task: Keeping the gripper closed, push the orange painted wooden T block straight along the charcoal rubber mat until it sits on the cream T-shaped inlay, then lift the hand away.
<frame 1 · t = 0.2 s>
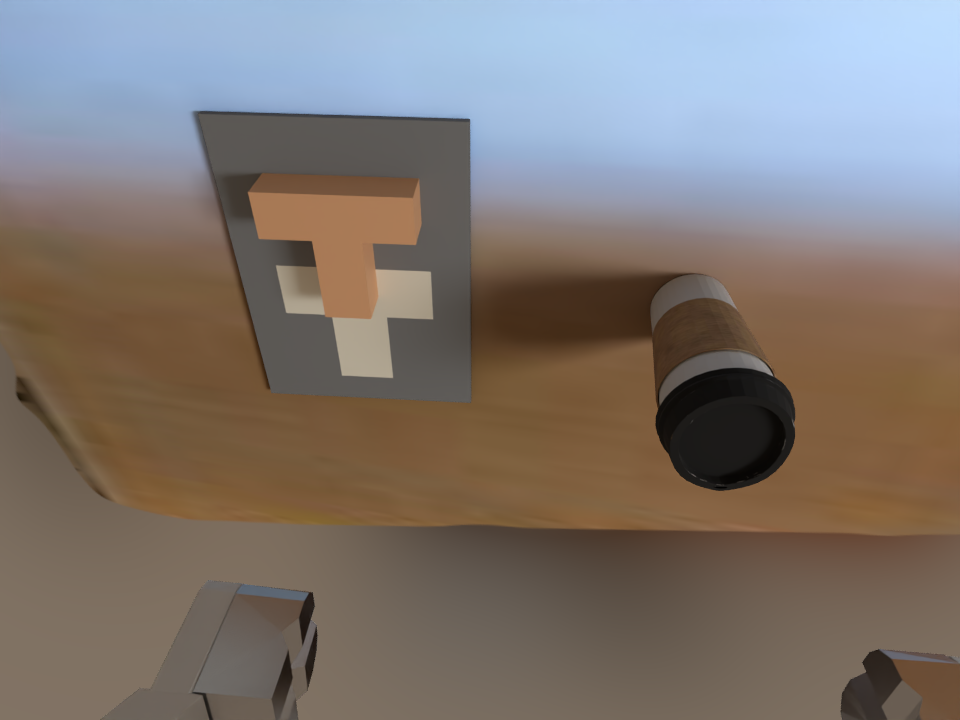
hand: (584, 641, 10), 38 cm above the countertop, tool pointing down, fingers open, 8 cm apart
t block: (348, 239, 49), resting on t mat
t mat: (355, 276, 52), on the countertop
coffee cup: (688, 304, 52), on the countertop
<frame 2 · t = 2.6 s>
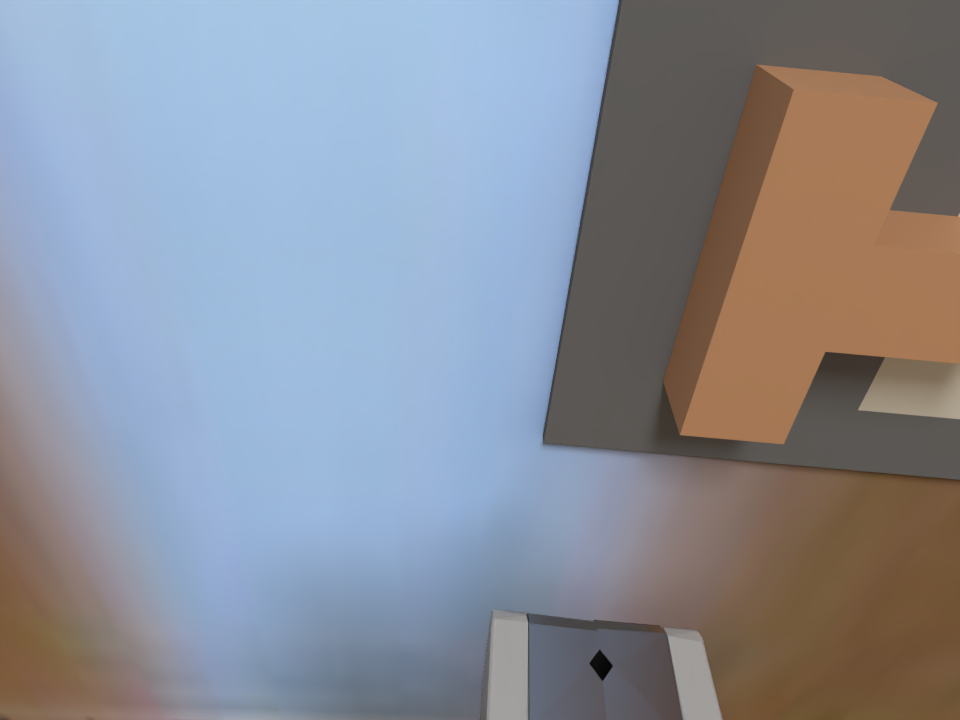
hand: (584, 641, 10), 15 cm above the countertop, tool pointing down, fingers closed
t block: (855, 260, 22), resting on t mat
t mat: (953, 262, 22), on the countertop
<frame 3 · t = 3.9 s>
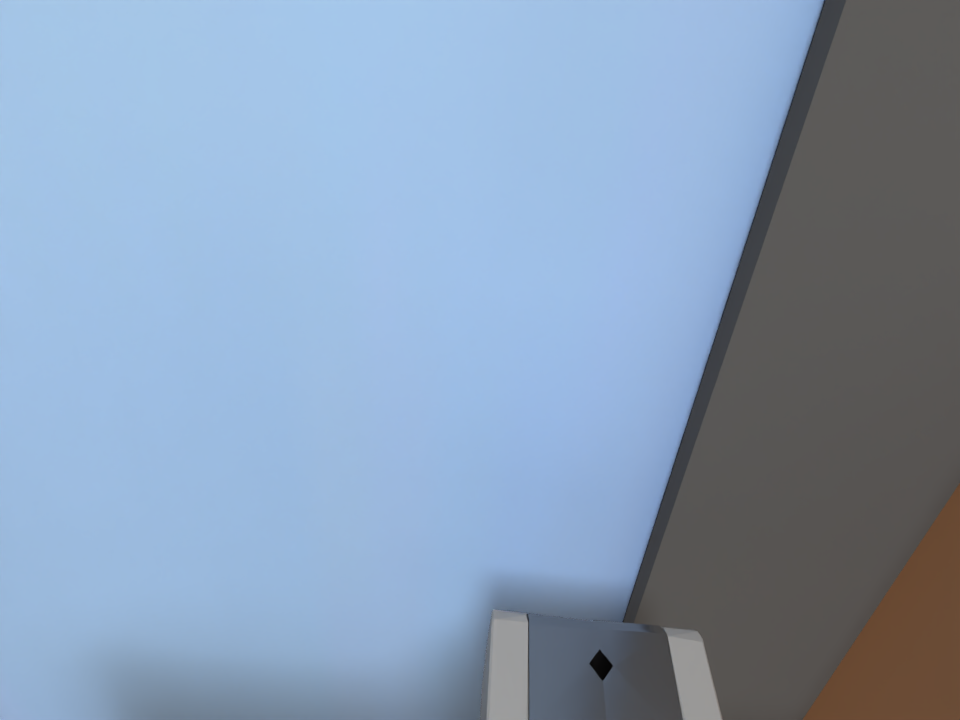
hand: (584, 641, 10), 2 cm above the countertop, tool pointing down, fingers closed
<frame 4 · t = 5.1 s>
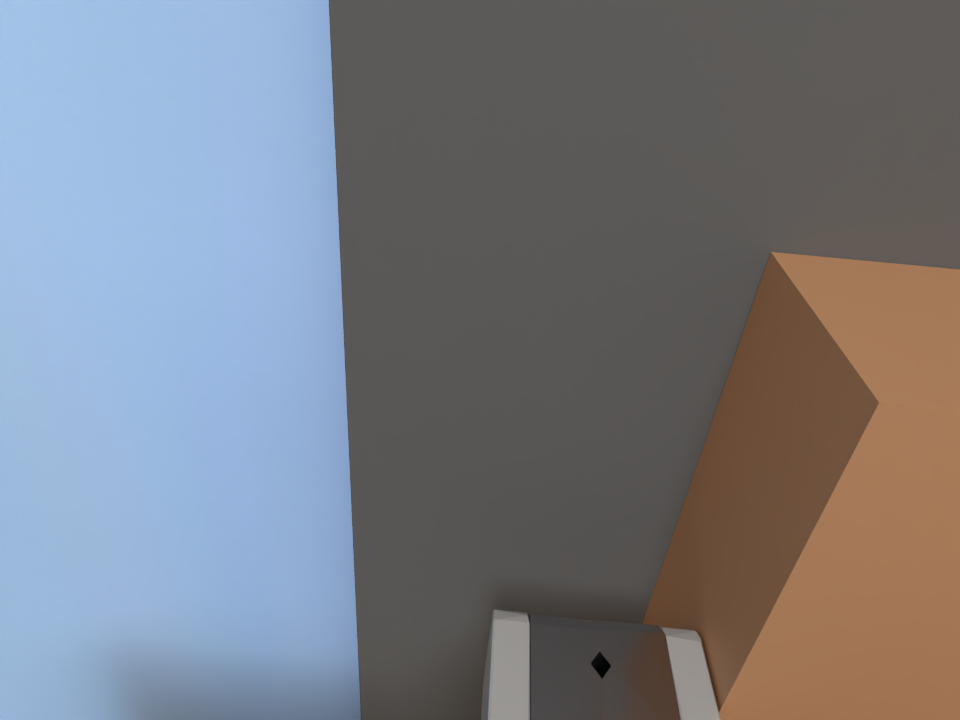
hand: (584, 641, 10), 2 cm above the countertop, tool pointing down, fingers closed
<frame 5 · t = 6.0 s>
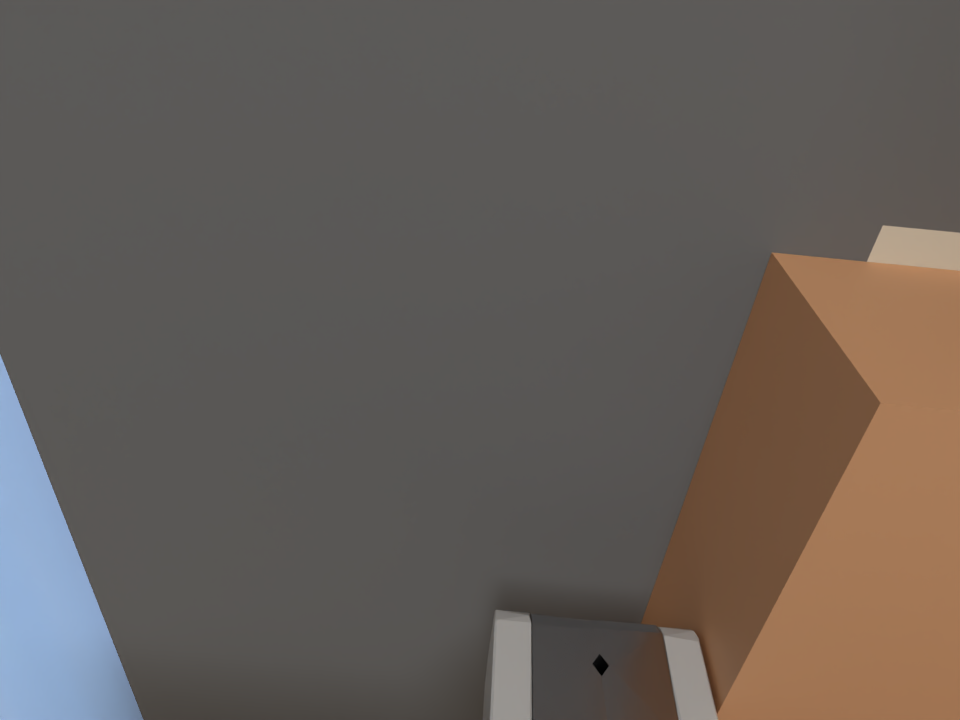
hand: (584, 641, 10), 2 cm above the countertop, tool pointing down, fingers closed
t mat: (784, 543, 12), on the countertop
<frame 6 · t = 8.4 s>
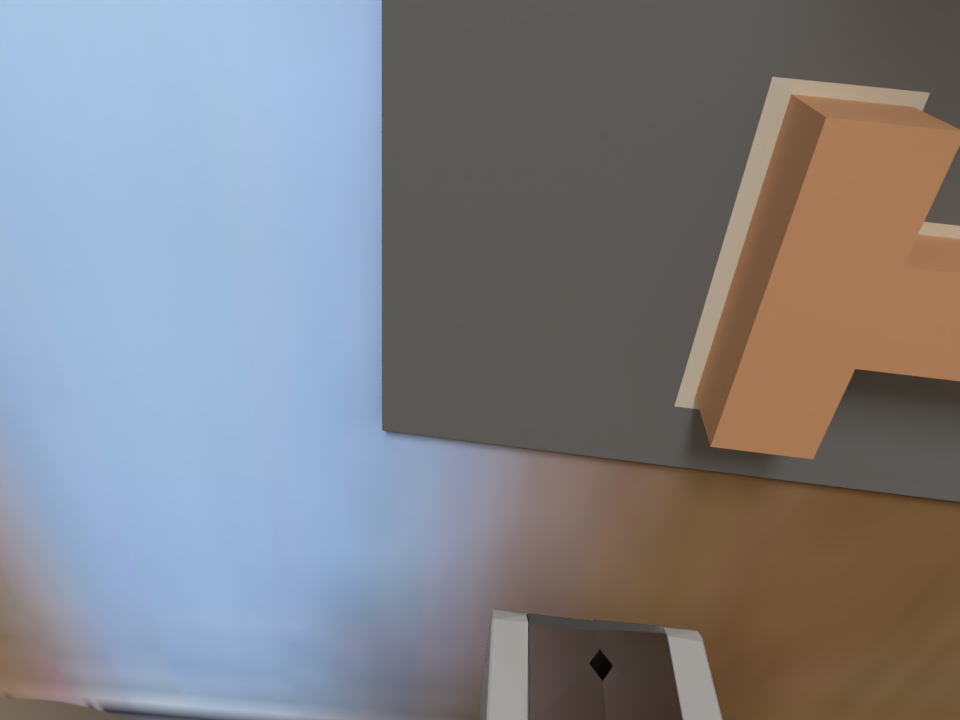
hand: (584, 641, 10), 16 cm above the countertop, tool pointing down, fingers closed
t block: (886, 282, 22), resting on t mat
t mat: (742, 262, 23), on the countertop
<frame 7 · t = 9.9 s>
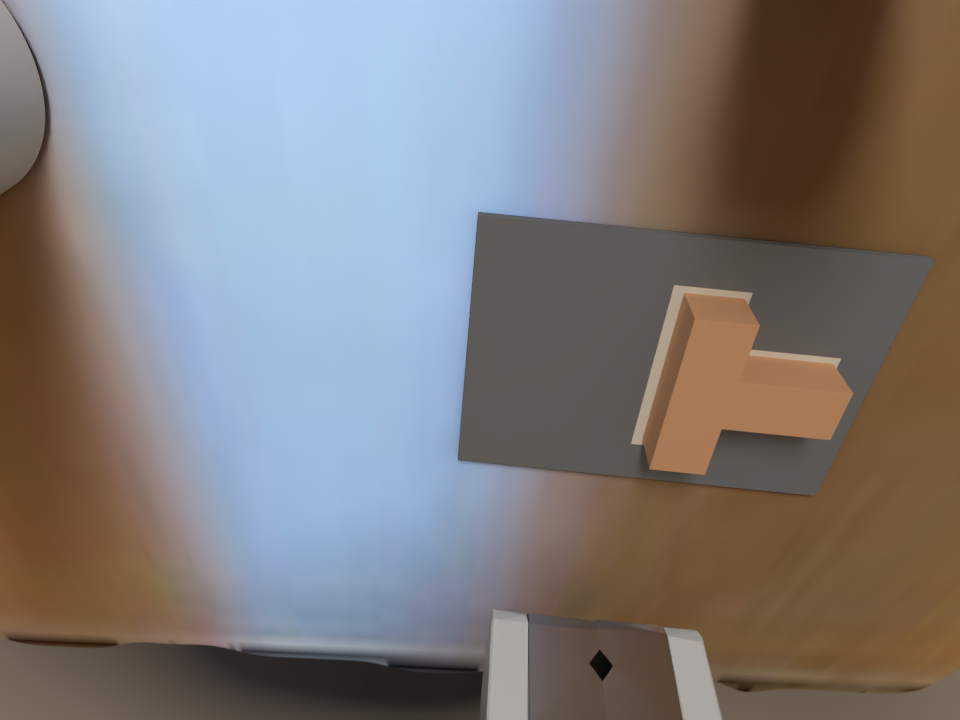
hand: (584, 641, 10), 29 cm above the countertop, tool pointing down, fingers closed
t block: (742, 378, 41), resting on t mat
t mat: (665, 367, 42), on the countertop
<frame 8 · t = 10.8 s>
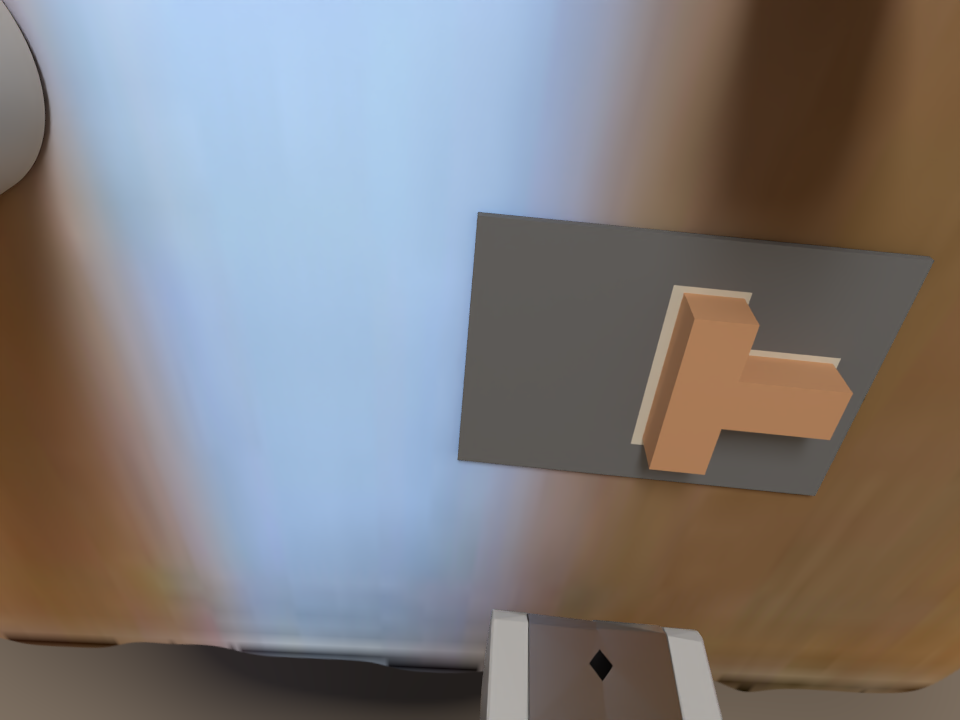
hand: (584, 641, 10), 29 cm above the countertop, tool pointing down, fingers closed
t block: (741, 378, 41), resting on t mat
t mat: (665, 367, 42), on the countertop
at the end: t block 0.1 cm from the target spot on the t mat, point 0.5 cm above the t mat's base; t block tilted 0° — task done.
